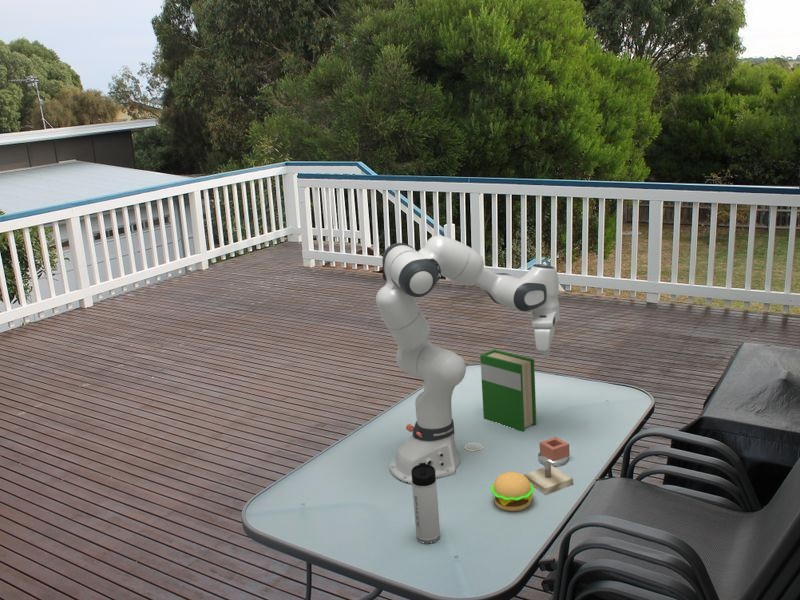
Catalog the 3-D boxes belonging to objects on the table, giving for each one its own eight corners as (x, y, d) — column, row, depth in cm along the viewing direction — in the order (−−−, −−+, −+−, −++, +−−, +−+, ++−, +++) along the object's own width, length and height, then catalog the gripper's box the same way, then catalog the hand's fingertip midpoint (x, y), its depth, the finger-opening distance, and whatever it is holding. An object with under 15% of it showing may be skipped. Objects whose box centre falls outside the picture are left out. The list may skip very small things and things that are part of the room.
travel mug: (439, 529, 198) (434, 461, 193) (441, 543, 192) (436, 473, 186) (415, 531, 198) (410, 463, 193) (417, 545, 192) (411, 475, 186)
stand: (545, 494, 210) (544, 474, 209) (524, 480, 219) (523, 460, 217) (572, 484, 215) (572, 464, 213) (550, 470, 223) (550, 451, 222)
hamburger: (541, 510, 203) (540, 481, 201) (499, 517, 201) (497, 489, 199) (525, 489, 215) (524, 462, 212) (485, 496, 212) (484, 469, 210)
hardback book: (536, 424, 255) (534, 359, 249) (522, 432, 250) (520, 365, 244) (497, 411, 268) (494, 349, 262) (483, 418, 263) (480, 355, 257)
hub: (551, 469, 224) (550, 458, 223) (532, 458, 232) (532, 447, 231) (574, 461, 228) (573, 449, 227) (555, 450, 236) (554, 439, 235)
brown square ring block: (553, 461, 226) (552, 449, 225) (539, 453, 231) (539, 442, 230) (569, 455, 228) (569, 444, 227) (556, 448, 234) (555, 436, 233)
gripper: (539, 305, 243) (540, 345, 247) (531, 324, 224) (532, 366, 228) (558, 305, 241) (559, 345, 245) (552, 324, 222) (553, 367, 226)
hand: (546, 356), depth 236 cm, fingers closed
